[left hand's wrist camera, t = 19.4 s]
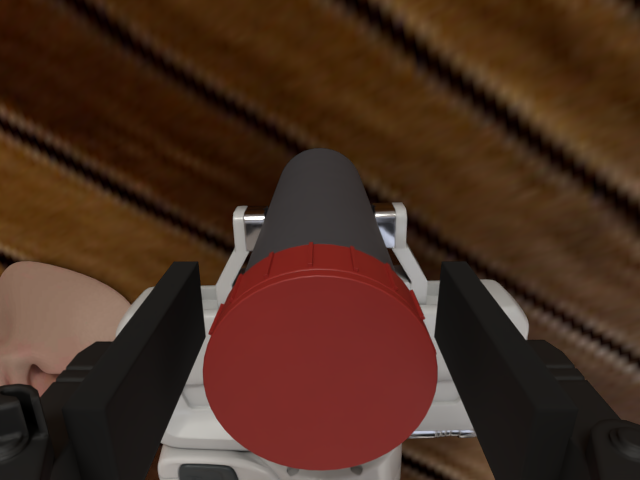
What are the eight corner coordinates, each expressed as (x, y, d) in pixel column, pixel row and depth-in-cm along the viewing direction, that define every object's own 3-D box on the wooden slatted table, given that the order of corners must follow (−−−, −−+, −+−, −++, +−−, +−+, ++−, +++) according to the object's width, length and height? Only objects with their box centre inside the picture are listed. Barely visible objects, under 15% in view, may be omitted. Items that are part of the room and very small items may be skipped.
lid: (359, 199, 11) (367, 224, 9) (458, 365, 13) (481, 414, 11) (176, 305, 12) (150, 346, 10) (289, 445, 14) (285, 502, 12)
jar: (310, 243, 29) (298, 471, 13) (262, 180, 28) (175, 342, 11) (377, 199, 28) (459, 383, 12) (330, 130, 27) (347, 229, 10)
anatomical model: (-79, 284, 26) (126, 295, 26) (-28, 256, 29) (150, 267, 30) (-30, 462, 30) (143, 471, 30) (8, 419, 34) (162, 427, 34)
